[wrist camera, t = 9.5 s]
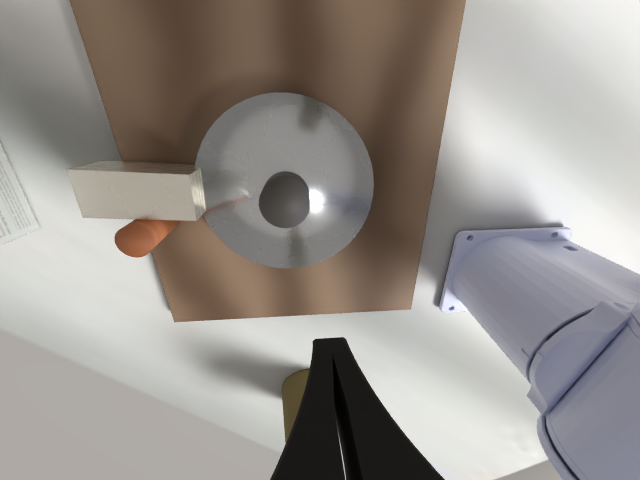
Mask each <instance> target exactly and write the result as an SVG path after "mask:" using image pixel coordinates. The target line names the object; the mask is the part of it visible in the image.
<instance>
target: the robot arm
mask: <svg viewBox="0 0 640 480" xmlns="http://www.w3.org/2000/svg"><path fill="white" fill-rule="evenodd" d="M552 233H553V234H552ZM469 235H471V236H470V238H468V239H467V237H468V236H469ZM571 235H572V230H571V229H570V228H567V227H551V228H525V229H498V230H471V231H460V232H459V233H458V234H457V235H456V237H455V241H454V246H453V250H452V254H451V258H450V263H449V267H448V271H447V275H446V280H445V284H444V288H443V292H442V296H441V301H440V305H439V309H440V310H441V311H442V312H444V313H447V312H465V311H469V312H470V313H471V314H472V316H473V317H474V318H475V319H476V320H477V321H478V323H479V324H480V325H481V326H482V327H483V328H484V330H485V331H486V332H487V333H488V334H489V336H490V337H491V338H492V339H493V340H494V341H495V343H496V344H497V345H498V346H499V347H500V349H501V350H502V351H503V352H504V353H505V354H506V356H507V357H508V358H509V359H510V360H511V361H512V363H513V364H514V365H515V366H516V367H517V369H518V370H519V371H520V372H521V373H522V374H523V376H524V377H525V378H526V379H527V380H528V382H529V383H530V384H531V388H530V391H529V392H528V394H527V397H528V398H529V399H530V400H531V402H532V403H533V404H534V405H535V407H536V408H537V409H538V410H539V412H540V413H541V414H540V416H539V418H538V420H537V433H538V437H539V440H540V443H541V445H542V447H543V449H544V452H545V454H546V455H547V457H548V459H549V460H550V462H551V464H552V465H553V467H554V468H555V470H556V471H557V472H558V474H559V475H560V477H561V478H562V479H563V480H640V275H639V274H637V273H635V272H633V271H631V270H629V269H627V268H625V267H623V266H621V265H619V264H616V263H614V262H612V261H610V260H608V259H606V258H604V257H602V256H600V255H598V254H596V253H593V252H591V251H589V250H587V249H585V248H583V247H581V246H579V245H577V244H575V243H572V242H570V241H569V239H570V237H571ZM451 306H452V307H451ZM449 307H450V308H449ZM337 427H338V429H337ZM338 433H339V436H338ZM339 438H340V443H341V449H342V454H343V460H344V466H345V473H346V480H445V479H444V478H443V477H442V476H441V475H440V474H439V473H438V472H437V471H436V470H435V469H434V468H433V466H432V465H431V464H430V463H429V462H428V461H427V460H426V458H425V457H424V456H423V455H422V454H421V453H420V452H419V450H418V449H417V448H416V447H415V446H414V445H413V444H412V442H411V441H410V440H409V439H408V437H407V436H406V435H405V434H404V432H403V431H402V430H401V429H400V427H399V426H398V425H397V423H396V422H395V421H394V420H393V418H392V417H391V416H390V414H389V413H388V411H387V410H386V409H385V407H384V406H383V404H382V403H381V401H380V400H379V398H378V397H377V395H376V394H375V392H374V391H373V389H372V388H371V386H370V384H369V383H368V381H367V379H366V378H365V376H364V374H363V373H362V371H361V369H360V367H359V366H358V364H357V362H356V360H355V358H354V356H353V354H352V352H351V350H350V348H349V345H348V343H347V341H346V339H345V338H344V337H340V338H324V339H315V340H314V341H313V352H312V360H311V365H310V370H309V375H308V379H307V383H306V387H305V390H304V394H303V397H302V400H301V404H300V407H299V410H298V413H297V416H296V419H295V422H294V424H293V427H292V430H291V432H290V435H289V438H288V440H287V442H286V445H285V447H284V450H283V452H282V455H281V457H280V459H279V462H278V464H277V466H276V469H275V471H274V473H273V475H272V477H271V479H270V480H345V475H344V469H343V463H342V456H341V449H340V443H339Z"/></svg>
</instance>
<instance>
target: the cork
mask: <svg viewBox="0 0 640 480" xmlns="http://www.w3.org/2000/svg"><path fill="white" fill-rule="evenodd" d="M309 370H310V369H306V370H300V371H298V372H296V373H293V374H292V375H290V376H289V377H288V378H286V380H285V381H284V383H283V385H282V400H283V414H284V428H285V441H286V442H287V440H288V438H289V435H290V432H291V430H292V427H293V424H294V422H295V419H296V416H297V413H298V410H299V407H300V404H301V400H302V397H303V394H304V390H305V387H306V383H307V379H308V375H309ZM337 429H338V427H337ZM338 436H339V433H338Z"/></svg>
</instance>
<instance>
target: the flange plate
mask: <svg viewBox="0 0 640 480" xmlns="http://www.w3.org/2000/svg"><path fill="white" fill-rule="evenodd" d="M66 171H67V174H68V176H69V179H70V182H71V185H72V188H73V191H74V194H75V196H76V199H77V202H78V205H79V208H80V211H81V214H82V216H83V218H111V219H147V220H183V221H197V220H198V219H199V218H200V217H201V216H202V214H203V216H204V218H205V220H206V222H207V223H208V225H209V226H210V228H211V229H212V231H213V232H214V233H215V234H216V235H217V237H218V238H219V239H220V240H221V241H222V242H223V243H224V244H225V245H226V246H228V247H229V248H230V249H231V250H233V251H234V252H236V253H237V254H239V255H241V256H242V257H244V258H246V259H248V260H250V261H253V262H255V263H258V264H261V265H265V266H269V267H275V268H300V267H306V266H310V265H314V264H317V263H319V262H322V261H324V260H326V259H328V258H330V257H332V256H334V255H335V254H337V253H338V252H340V251H341V250H342V249H343V248H345V247H346V246H347V245H348V244H349V243H350V242H351V241H352V240H353V239H354V237H355V236H356V235H357V234H358V232H359V231H360V229H361V228H362V226H363V224H364V222H365V220H366V218H367V216H368V213H369V210H370V207H371V203H372V198H373V189H374V179H373V170H372V164H371V160H370V157H369V154H368V151H367V149H366V147H365V145H364V143H363V141H362V139H361V137H360V136H359V134H358V133H357V131H356V130H355V129H354V128H353V126H352V125H351V124H350V123H349V122H348V121H347V120H346V119H345V118H344V117H343V116H342V115H341V114H339V113H338V112H337V111H336V110H334V109H333V108H331V107H330V106H328V105H326V104H325V103H322V102H320V101H318V100H316V99H314V98H311V97H307V96H304V95H300V94H294V93H268V94H261V95H257V96H254V97H251V98H248V99H246V100H244V101H242V102H240V103H238V104H236V105H234V106H233V107H231V108H230V109H228V110H227V111H226V112H224V113H223V114H222V115H221V116H220V117H219V118H218V119H217V120H216V121H215V122H214V124H213V125H212V126H211V128H210V129H209V130H208V132H207V133H206V135H205V137H204V139H203V141H202V143H201V146H200V148H199V151H198V154H197V159H196V163H195V165H191V164H169V163H147V162H125V161H99V162H95V163H91V164H87V165H83V166H79V167H75V168H70V169H66ZM283 171H288V172H293V173H295V174H297V175H299V176H300V177H301V178H303V180H304V181H305V182H306V184H307V186H308V189H309V196H310V211H309V214H308V216H307V217H306V219H305V220H304V221H303V222H302V223H300V224H299V225H297V226H295V227H292V228H279V227H276V226H273V225H272V224H270V223H269V222H267V221H266V220H265V218H264V217H263V216H262V214H261V212H260V209H259V197H260V194H261V192H262V189H263V187H264V185H265V183H266V182H267V180H268V179H269V178H270V177H271V176H272V175H274V174H276V173H278V172H283Z"/></svg>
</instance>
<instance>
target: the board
mask: <svg viewBox="0 0 640 480" xmlns="http://www.w3.org/2000/svg"><path fill="white" fill-rule="evenodd" d="M70 2H71V6H72V9H73V12H74V15H75V18H76V21H77V24H78V27H79V30H80V33H81V36H82V39H83V42H84V46H85V49H86V52H87V55H88V58H89V61H90V64H91V67H92V70H93V73H94V76H95V79H96V82H97V86H98V89H99V92H100V95H101V98H102V101H103V104H104V107H105V110H106V113H107V116H108V119H109V122H110V126H111V129H112V132H113V135H114V138H115V141H116V144H117V147H118V150H119V153H120V156H121V159H122V161H125V162H147V163H169V164H191V165H195V163H196V159H197V154H198V151H199V148H200V146H201V143H202V141H203V139H204V137H205V135H206V133H207V132H208V130H209V129H210V128H211V126H212V125H213V124H214V122H215V121H216V120H217V119H218V118H219V117H220V116H221V115H222V114H223V113H224V112H226V111H227V110H228V109H230V108H231V107H233V106H234V105H236V104H238V103H240V102H242V101H244V100H246V99H248V98H251V97H254V96H257V95H261V94H268V93H294V94H300V95H304V96H307V97H311V98H314V99H316V100H318V101H320V102H322V103H325V104H326V105H328V106H330V107H331V108H333V109H334V110H336V111H337V112H338V113H339V114H341V115H342V116H343V117H344V118H345V119H346V120H347V121H348V122H349V123H350V124H351V125H352V126H353V128H354V129H355V130H356V131H357V133H358V134H359V136H360V137H361V139H362V141H363V143H364V145H365V147H366V149H367V151H368V154H369V157H370V160H371V164H372V170H373V179H374V189H373V198H372V203H371V207H370V210H369V213H368V216H367V218H366V220H365V222H364V224H363V226H362V228H361V229H360V231H359V232H358V234H357V235H356V236H355V237H354V239H353V240H352V241H351V242H350V243H349V244H348V245H347V246H346V247H345V248H343V249H342V250H341V251H340V252H338V253H337V254H335V255H334V256H332V257H330V258H328V259H326V260H324V261H322V262H319V263H317V264H314V265H310V266H306V267H300V268H275V267H269V266H265V265H261V264H258V263H255V262H253V261H250V260H248V259H246V258H244V257H242V256H241V255H239V254H237V253H236V252H234V251H233V250H231V249H230V248H229V247H228V246H226V245H225V244H224V243H223V242H222V241H221V240H220V239H219V238H218V237H217V235H216V234H215V233H214V232H213V231H212V229H211V228H210V226H209V225H208V223H207V222H206V220H205V218H204V216H203V214H202V216H201V217H200V218H199V219H198V220H197V221H183V220H147V219H135V220H134V221H132V222H131V223H129V224H128V225H126V226H125V227H123V228H122V229H120V230H119V231H118V232H117V233H116V234H115V243H116V246H117V247H118V248H119V250H120V251H122V252H123V253H124V254H126V255H128V256H131V257H142V256H145V255H146V254H148V253H149V252H150V251H151V252H152V255H153V258H154V261H155V264H156V267H157V270H158V273H159V276H160V279H161V282H162V285H163V289H164V292H165V295H166V298H167V301H168V304H169V307H170V310H171V313H172V316H173V319H174V322H186V321H204V320H222V319H241V318H259V317H278V316H296V315H315V314H333V313H352V312H370V311H389V310H407V309H411V306H412V300H413V294H414V289H415V283H416V277H417V272H418V266H419V261H420V255H421V249H422V244H423V238H424V233H425V227H426V221H427V216H428V210H429V205H430V199H431V193H432V188H433V182H434V176H435V171H436V165H437V160H438V154H439V148H440V143H441V137H442V132H443V126H444V120H445V115H446V109H447V104H448V98H449V92H450V87H451V81H452V75H453V70H454V64H455V59H456V53H457V47H458V42H459V36H460V31H461V25H462V19H463V14H464V8H465V3H466V0H70ZM259 209H260V212H261V214H262V216H263V217H264V218H265V220H266V221H267V222H269V223H270V224H272V225H273V226H276V227H279V228H292V227H295V226H297V225H299V224H300V223H302V222H303V221H304V220H305V219H306V217H307V216H308V214H309V211H310V196H309V189H308V186H307V184H306V182H305V181H304V180H303V178H301V177H300V176H299V175H297V174H295V173H293V172H288V171H283V172H278V173H276V174H274V175H272V176H271V177H270V178H269V179H268V180H267V182H266V183H265V185H264V187H263V189H262V192H261V194H260V197H259Z"/></svg>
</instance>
